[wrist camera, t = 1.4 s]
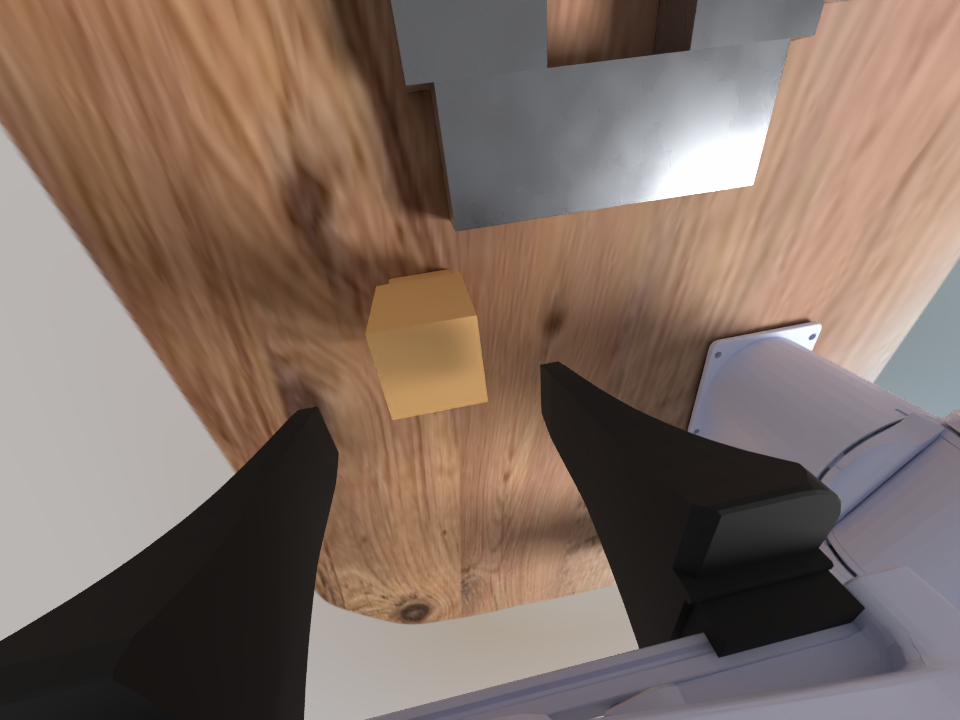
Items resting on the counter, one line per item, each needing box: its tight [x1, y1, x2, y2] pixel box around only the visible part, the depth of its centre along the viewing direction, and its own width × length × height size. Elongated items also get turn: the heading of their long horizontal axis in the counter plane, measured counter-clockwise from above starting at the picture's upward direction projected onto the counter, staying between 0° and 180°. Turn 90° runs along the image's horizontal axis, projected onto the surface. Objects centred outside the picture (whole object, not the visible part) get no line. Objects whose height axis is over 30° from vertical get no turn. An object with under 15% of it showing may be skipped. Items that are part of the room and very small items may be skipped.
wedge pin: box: [365, 269, 488, 420], centre depth 17 cm, size 4×4×7 cm
